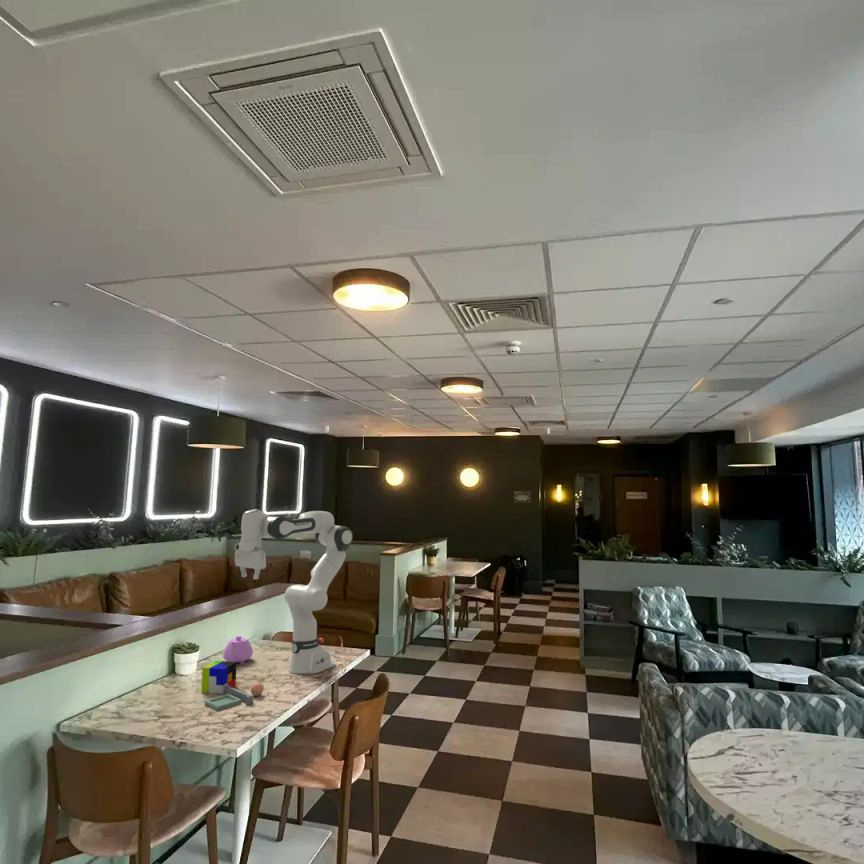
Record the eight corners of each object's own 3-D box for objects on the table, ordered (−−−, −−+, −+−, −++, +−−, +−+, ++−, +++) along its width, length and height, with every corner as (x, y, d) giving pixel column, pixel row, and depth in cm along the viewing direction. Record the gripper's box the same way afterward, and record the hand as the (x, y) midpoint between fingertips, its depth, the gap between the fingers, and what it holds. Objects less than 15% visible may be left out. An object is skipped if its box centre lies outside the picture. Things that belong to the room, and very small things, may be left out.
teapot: (246, 667, 271) (247, 641, 272) (216, 668, 270) (217, 642, 271) (256, 655, 291) (257, 631, 292) (228, 656, 289) (229, 632, 291)
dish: (228, 697, 230) (228, 693, 231) (241, 703, 224) (241, 699, 224) (204, 704, 223) (204, 700, 223) (217, 710, 216) (217, 706, 217)
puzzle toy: (222, 693, 235) (223, 668, 236) (201, 692, 237) (202, 667, 238) (235, 685, 245) (236, 662, 246) (215, 684, 247) (216, 660, 248)
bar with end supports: (228, 692, 236) (228, 685, 237) (253, 703, 224) (253, 695, 224) (223, 694, 235) (223, 686, 235) (247, 704, 222) (247, 697, 223)
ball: (258, 692, 236) (259, 680, 237) (265, 695, 233) (266, 682, 233) (248, 695, 232) (248, 683, 233) (254, 698, 229) (255, 685, 230)
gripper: (270, 547, 246) (269, 579, 244) (245, 544, 259) (244, 575, 258) (257, 548, 241) (256, 581, 240) (232, 545, 254) (231, 576, 253)
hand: (249, 578), depth 249 cm, fingers open, 8 cm apart
